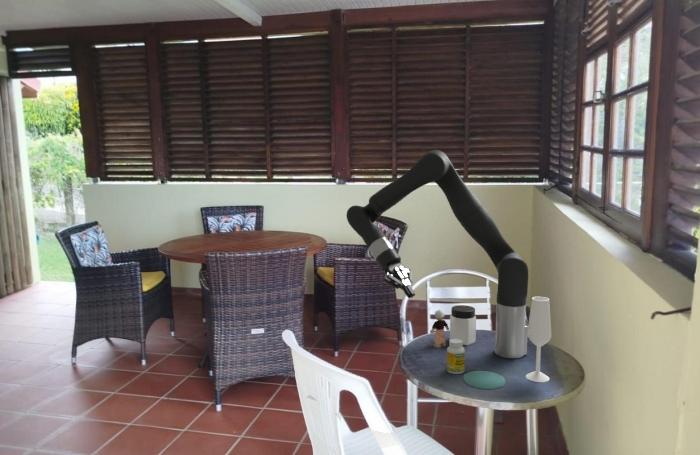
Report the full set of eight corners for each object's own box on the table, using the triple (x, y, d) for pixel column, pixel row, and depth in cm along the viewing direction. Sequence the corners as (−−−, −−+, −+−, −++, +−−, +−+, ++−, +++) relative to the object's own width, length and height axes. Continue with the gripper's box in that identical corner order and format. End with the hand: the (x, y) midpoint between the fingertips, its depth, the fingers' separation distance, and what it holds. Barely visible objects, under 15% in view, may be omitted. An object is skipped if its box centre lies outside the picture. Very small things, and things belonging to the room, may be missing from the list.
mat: (489, 369, 167) (489, 368, 167) (514, 385, 156) (514, 384, 156) (455, 375, 163) (455, 374, 163) (478, 391, 152) (478, 390, 152)
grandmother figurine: (441, 341, 192) (442, 306, 190) (450, 344, 189) (450, 309, 188) (427, 347, 187) (427, 311, 185) (436, 350, 184) (436, 313, 183)
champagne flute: (529, 371, 166) (532, 294, 163) (552, 376, 162) (555, 297, 159) (522, 378, 161) (525, 299, 157) (545, 384, 157) (549, 303, 153)
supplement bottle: (455, 366, 170) (456, 336, 169) (468, 371, 166) (468, 341, 165) (443, 370, 167) (443, 340, 166) (455, 376, 163) (455, 345, 162)
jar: (460, 335, 199) (461, 303, 197) (479, 340, 193) (480, 308, 191) (445, 341, 192) (445, 308, 191) (464, 347, 187) (465, 313, 185)
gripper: (377, 249, 176) (406, 293, 169) (403, 244, 185) (431, 286, 178) (365, 263, 180) (392, 306, 174) (391, 258, 190) (418, 299, 183)
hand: (412, 296), depth 176 cm, fingers closed
